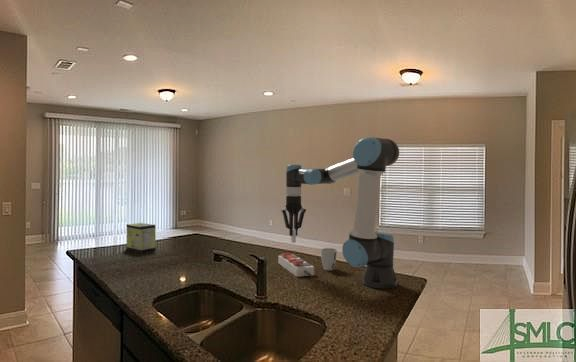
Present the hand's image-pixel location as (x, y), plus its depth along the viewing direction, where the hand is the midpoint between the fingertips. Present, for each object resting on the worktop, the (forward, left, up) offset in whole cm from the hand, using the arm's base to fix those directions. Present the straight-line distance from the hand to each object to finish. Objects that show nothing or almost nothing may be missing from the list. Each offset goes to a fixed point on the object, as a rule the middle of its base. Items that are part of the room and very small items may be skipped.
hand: (293, 242), depth 200 cm
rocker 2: (+2, 0, -9) cm, 9 cm away
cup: (-4, -18, -14) cm, 23 cm away
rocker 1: (+11, 0, -9) cm, 14 cm away
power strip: (-1, -2, -14) cm, 14 cm away
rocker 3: (-7, 0, -9) cm, 11 cm away
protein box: (+73, +73, -15) cm, 104 cm away
